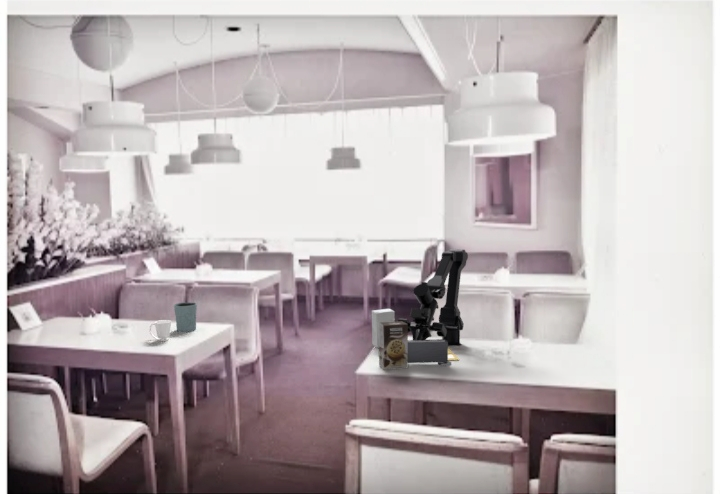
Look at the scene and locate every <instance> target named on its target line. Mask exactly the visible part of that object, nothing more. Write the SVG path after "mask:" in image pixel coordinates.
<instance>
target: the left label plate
mask: <svg viewBox="0 0 720 494" xmlns="http://www.w3.org/2000/svg"><path fill="white" fill-rule="evenodd" d="M448 361H450V362H452V361H455V362H457V361H460V359H459V357H458V356H457V354H456V353H453V354H448Z"/></svg>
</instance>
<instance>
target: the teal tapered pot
mask: <svg viewBox="0 0 720 494" xmlns="http://www.w3.org/2000/svg"><path fill="white" fill-rule="evenodd" d="M197 305H198V303H197V302H179V303H175V304H173V307H174V315H175V321H176V323H175V325H176V326H175V327H176V331H177V332H179V333H181V332H182V333H187V332H193V331H196V330H197V309H198V308H197V307H198V306H197Z"/></svg>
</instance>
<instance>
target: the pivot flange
mask: <svg viewBox="0 0 720 494" xmlns="http://www.w3.org/2000/svg"><path fill="white" fill-rule="evenodd" d="M437 365H438V366H440V367H449V366H452V361H448V362H437Z"/></svg>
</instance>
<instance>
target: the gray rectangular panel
mask: <svg viewBox="0 0 720 494" xmlns="http://www.w3.org/2000/svg"><path fill="white" fill-rule="evenodd" d="M448 348H449V345H448V342H447V341H446V340H444V339H442V338H441V339H438V338H437V339H426V340H413V339H408V360H407V361H408V364H417V363H418V364H422V363H424V364H425V363H428V364H429V363H438V362H448Z"/></svg>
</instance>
